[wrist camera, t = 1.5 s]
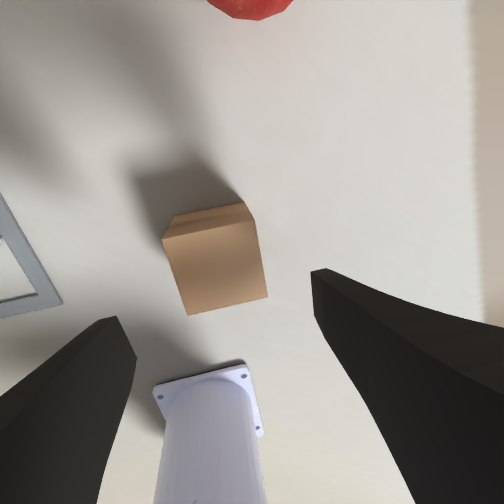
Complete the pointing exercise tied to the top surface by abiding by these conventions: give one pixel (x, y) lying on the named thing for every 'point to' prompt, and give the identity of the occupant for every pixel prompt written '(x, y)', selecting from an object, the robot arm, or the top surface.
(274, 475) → the top surface
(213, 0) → the onion
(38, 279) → the gray square frame
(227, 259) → the walnut cube
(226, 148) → the top surface
